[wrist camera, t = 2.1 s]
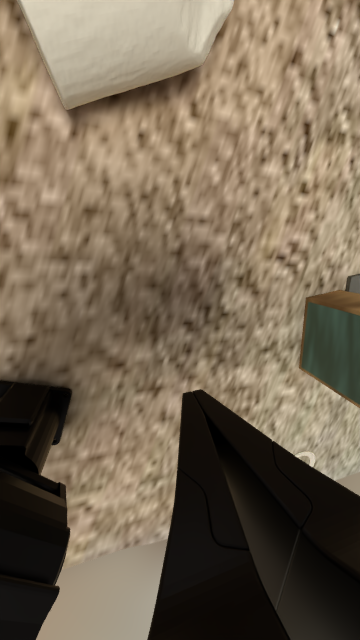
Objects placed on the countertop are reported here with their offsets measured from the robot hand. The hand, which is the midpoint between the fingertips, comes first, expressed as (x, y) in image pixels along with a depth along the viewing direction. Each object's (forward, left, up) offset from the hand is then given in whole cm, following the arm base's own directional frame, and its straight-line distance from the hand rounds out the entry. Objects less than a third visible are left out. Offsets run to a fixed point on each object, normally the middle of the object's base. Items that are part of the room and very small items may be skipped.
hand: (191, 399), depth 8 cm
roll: (+17, +7, -12) cm, 22 cm away
